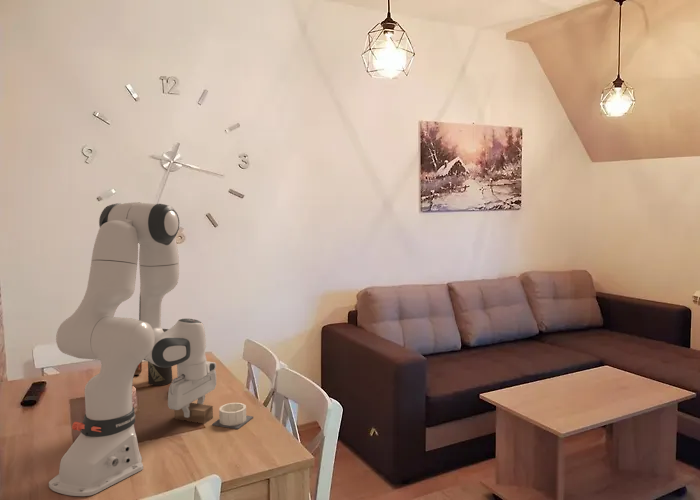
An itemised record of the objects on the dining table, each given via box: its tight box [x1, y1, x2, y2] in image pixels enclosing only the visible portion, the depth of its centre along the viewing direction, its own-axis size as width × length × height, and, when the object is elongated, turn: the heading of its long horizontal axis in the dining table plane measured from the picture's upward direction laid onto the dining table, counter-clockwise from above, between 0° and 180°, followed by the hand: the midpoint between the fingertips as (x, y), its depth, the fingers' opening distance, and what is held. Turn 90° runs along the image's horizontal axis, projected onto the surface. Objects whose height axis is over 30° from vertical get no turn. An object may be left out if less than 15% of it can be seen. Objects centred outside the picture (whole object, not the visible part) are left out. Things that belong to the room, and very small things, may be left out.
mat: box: [211, 415, 254, 430], centre depth 170 cm, size 9×9×1 cm
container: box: [147, 328, 173, 387], centre depth 205 cm, size 9×9×20 cm
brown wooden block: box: [173, 402, 214, 425], centre depth 172 cm, size 4×11×4 cm, turn 70°
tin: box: [134, 360, 143, 376], centre depth 217 cm, size 15×3×8 cm, turn 39°
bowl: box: [218, 402, 247, 426], centre depth 170 cm, size 8×8×4 cm
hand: (193, 413), depth 172 cm, fingers closed on brown wooden block, 4 cm apart
